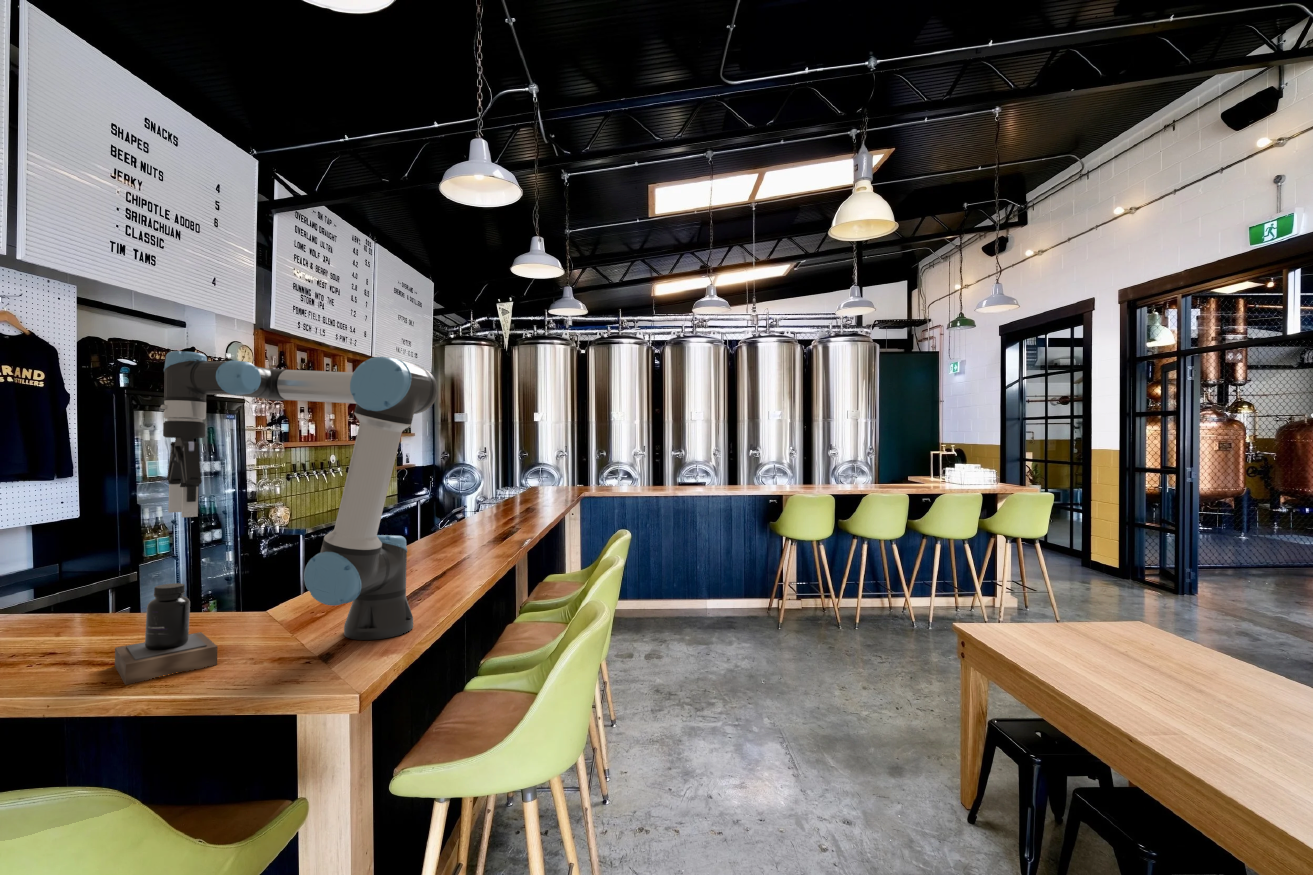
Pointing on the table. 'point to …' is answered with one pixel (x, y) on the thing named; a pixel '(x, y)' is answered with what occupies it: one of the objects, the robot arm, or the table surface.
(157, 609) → the supplement bottle
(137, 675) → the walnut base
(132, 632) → the table surface
